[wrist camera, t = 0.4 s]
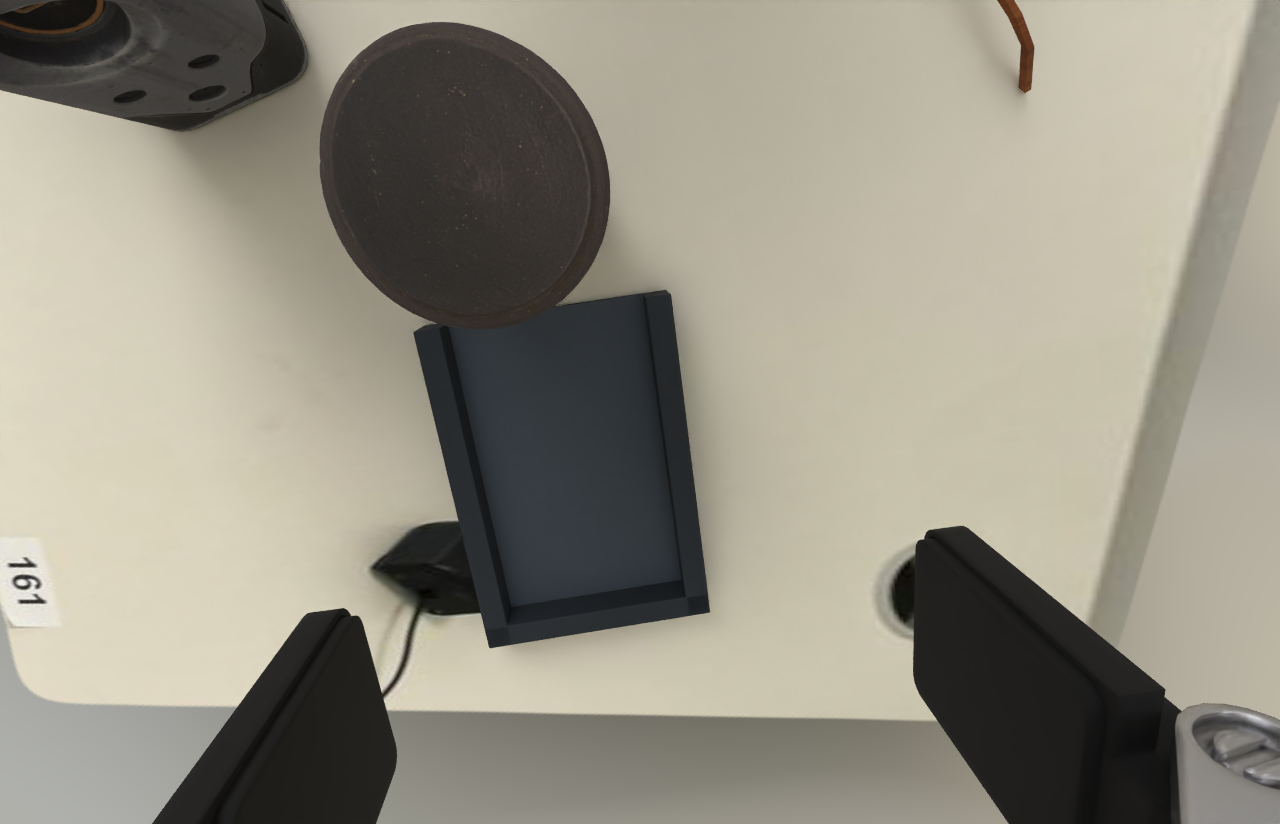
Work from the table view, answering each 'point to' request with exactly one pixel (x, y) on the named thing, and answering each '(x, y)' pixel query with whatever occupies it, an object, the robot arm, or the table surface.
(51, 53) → the electronic device
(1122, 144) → the table surface
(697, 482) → the table surface
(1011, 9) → the glasses
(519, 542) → the tray
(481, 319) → the container
